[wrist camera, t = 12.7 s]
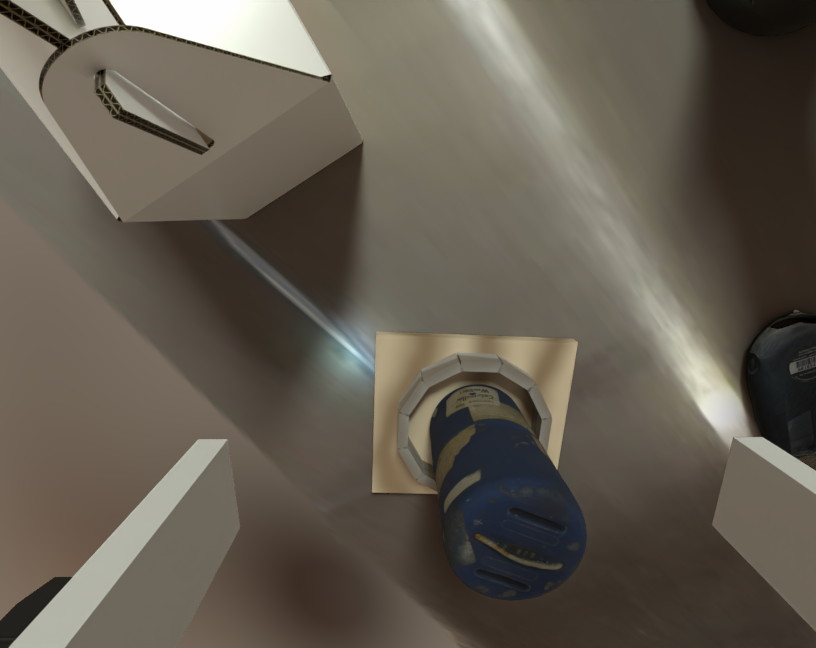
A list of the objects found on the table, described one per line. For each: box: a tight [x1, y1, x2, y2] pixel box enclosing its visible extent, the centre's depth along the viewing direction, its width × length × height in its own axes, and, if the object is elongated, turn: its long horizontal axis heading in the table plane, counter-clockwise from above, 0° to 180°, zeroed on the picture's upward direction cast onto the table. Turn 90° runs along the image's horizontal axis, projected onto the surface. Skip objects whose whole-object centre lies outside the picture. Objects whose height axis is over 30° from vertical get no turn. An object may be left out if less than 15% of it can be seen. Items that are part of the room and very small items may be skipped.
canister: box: [430, 384, 587, 600], centre depth 33 cm, size 10×10×18 cm
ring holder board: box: [372, 331, 578, 494], centre depth 41 cm, size 20×18×4 cm
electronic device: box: [746, 310, 816, 459], centre depth 41 cm, size 9×6×15 cm
